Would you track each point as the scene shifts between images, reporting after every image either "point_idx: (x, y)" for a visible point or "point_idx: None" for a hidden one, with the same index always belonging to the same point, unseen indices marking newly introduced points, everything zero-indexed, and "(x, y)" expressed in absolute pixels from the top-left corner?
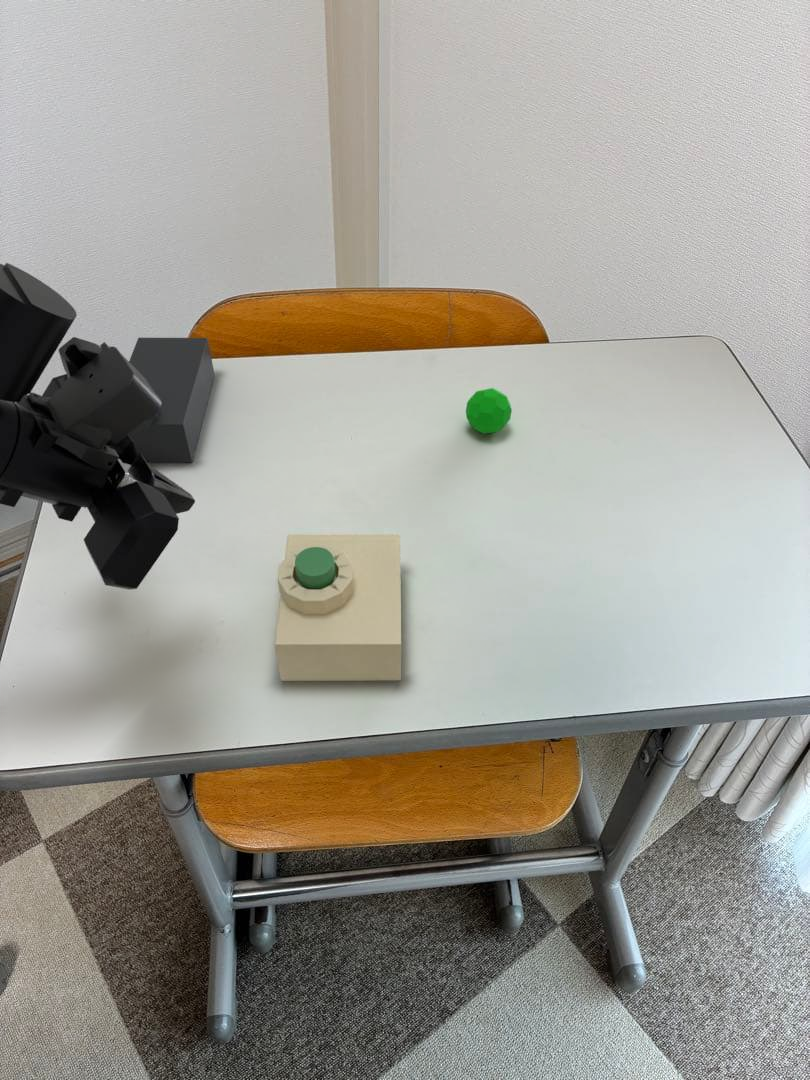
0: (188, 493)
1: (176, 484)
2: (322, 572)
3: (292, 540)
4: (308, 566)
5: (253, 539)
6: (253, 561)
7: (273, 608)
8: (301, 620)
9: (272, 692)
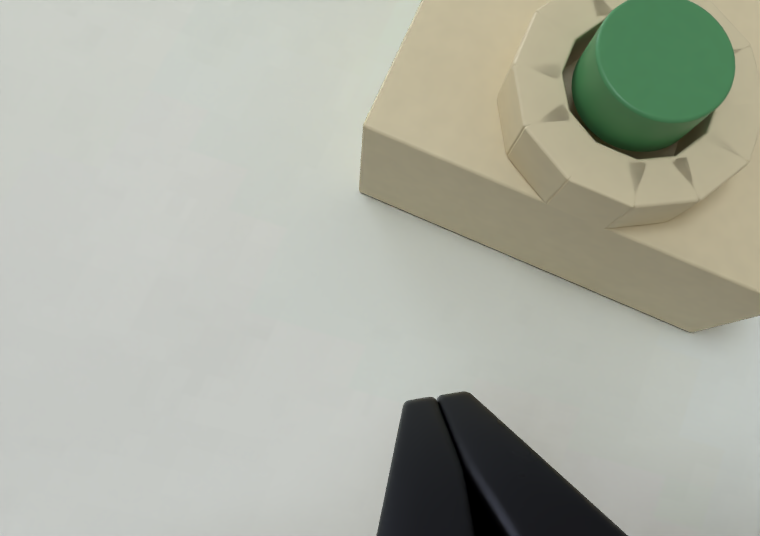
0: (425, 416)
1: (399, 484)
2: (729, 50)
3: (396, 121)
4: (684, 82)
5: (185, 252)
6: (270, 277)
7: (458, 279)
8: (730, 204)
9: (715, 363)
